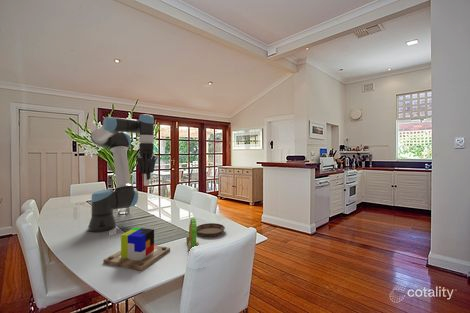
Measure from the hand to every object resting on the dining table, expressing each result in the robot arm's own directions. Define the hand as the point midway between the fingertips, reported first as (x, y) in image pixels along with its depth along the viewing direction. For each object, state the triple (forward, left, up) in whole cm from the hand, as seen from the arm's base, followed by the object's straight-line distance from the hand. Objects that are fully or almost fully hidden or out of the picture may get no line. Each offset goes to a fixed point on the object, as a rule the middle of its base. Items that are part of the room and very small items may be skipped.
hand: (146, 185), depth 128 cm
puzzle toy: (+12, -20, -28) cm, 37 cm away
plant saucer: (+30, +20, -30) cm, 47 cm away
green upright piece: (+30, -2, -30) cm, 42 cm away
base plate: (+12, -20, -29) cm, 38 cm away
